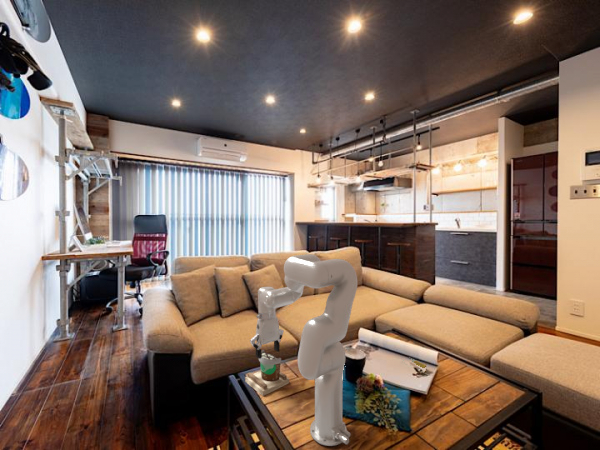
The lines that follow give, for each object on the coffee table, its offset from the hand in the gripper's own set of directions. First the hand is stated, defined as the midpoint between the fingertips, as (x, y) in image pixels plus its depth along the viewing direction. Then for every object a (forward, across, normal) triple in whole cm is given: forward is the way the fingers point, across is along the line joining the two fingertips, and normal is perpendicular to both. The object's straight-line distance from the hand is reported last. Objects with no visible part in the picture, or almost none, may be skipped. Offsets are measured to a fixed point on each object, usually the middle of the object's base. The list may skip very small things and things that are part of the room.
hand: (268, 354), depth 123 cm
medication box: (+15, +60, -37) cm, 72 cm away
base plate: (+13, 0, +1) cm, 13 cm away
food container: (+11, 0, +1) cm, 11 cm away
